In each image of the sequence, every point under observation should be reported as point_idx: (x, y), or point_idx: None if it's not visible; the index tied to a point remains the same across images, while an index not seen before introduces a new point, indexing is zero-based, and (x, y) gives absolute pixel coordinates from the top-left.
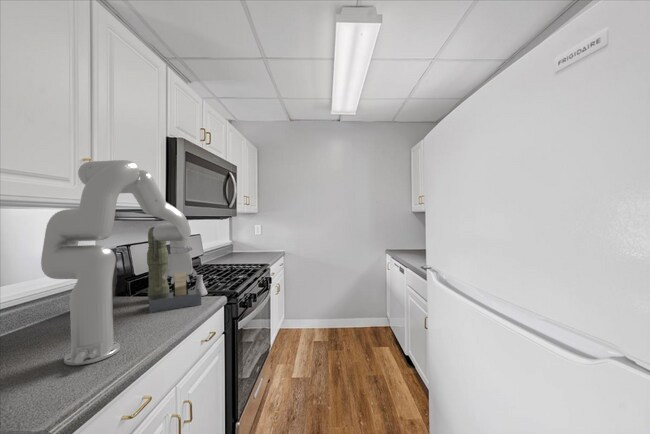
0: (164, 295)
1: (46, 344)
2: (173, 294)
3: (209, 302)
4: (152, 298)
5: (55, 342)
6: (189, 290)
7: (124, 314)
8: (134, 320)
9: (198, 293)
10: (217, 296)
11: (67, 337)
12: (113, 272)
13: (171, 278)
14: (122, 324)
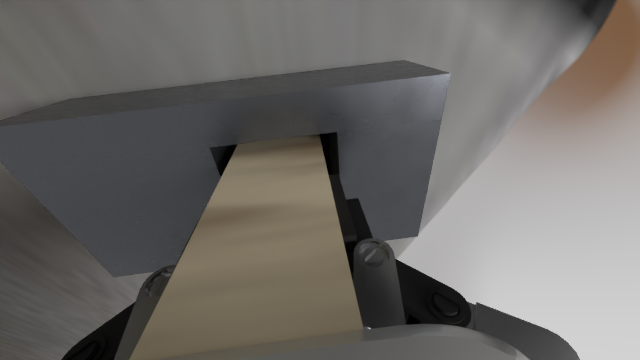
0: (158, 194)
1: (4, 356)
2: (216, 142)
3: (437, 168)
4: (101, 240)
5: (18, 352)
6: (354, 103)
7: (10, 204)
8: (144, 281)
9: (404, 228)
10: (540, 36)
11: (16, 338)
12: None
13: (131, 346)
14: (123, 300)
